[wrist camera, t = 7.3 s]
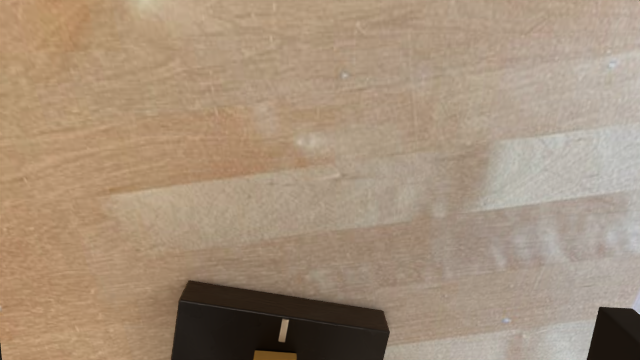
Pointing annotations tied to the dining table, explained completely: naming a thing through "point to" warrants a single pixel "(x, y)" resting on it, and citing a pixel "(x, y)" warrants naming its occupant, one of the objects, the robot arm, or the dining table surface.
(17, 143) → the dining table surface
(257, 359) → the lock turn
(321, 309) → the plate
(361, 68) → the dining table surface
